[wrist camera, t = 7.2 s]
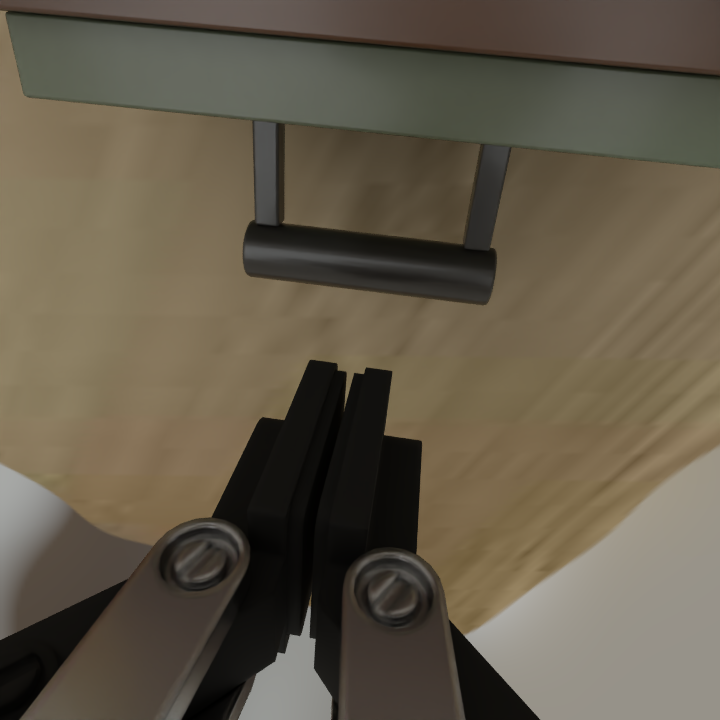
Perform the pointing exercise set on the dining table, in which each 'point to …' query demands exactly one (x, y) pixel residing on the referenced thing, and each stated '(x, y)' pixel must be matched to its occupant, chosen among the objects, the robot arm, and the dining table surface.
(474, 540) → the dining table surface
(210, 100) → the drawer
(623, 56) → the cabinet
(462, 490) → the dining table surface
